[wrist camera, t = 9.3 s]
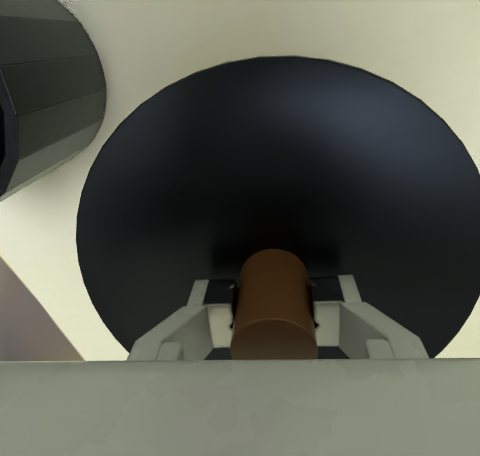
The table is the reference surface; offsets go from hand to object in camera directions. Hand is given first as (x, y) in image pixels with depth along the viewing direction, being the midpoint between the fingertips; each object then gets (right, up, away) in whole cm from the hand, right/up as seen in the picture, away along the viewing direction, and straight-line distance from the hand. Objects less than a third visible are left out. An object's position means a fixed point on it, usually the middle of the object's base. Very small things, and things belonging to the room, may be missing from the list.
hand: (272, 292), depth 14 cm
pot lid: (0, +1, +1) cm, 2 cm away
